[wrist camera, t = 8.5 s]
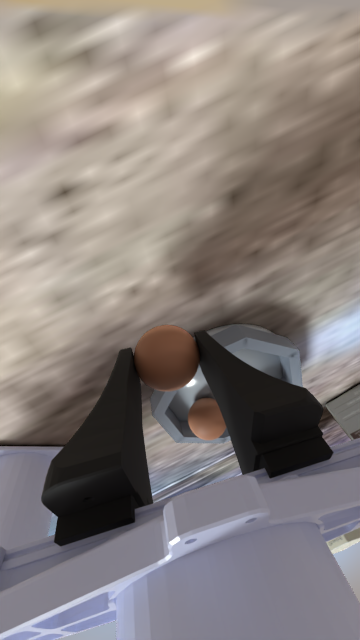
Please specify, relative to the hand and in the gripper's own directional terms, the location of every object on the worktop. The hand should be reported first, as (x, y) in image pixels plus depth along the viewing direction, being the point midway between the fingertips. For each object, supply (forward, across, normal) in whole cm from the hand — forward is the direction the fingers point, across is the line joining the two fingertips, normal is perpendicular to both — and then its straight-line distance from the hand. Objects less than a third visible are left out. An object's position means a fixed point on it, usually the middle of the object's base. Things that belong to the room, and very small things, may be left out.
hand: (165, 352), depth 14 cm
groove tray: (+5, -5, +10) cm, 12 cm away
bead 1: (0, 0, 0) cm, 0 cm away
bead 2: (+2, -3, +12) cm, 12 cm away
